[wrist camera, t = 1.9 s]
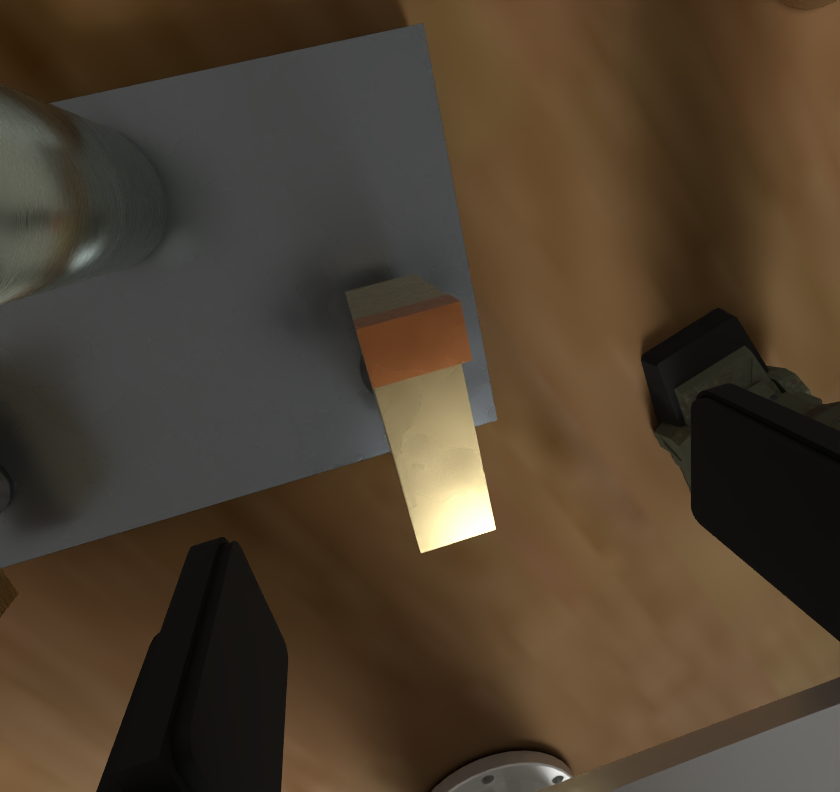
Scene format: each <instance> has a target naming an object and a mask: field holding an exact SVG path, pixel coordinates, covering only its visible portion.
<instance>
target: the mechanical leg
mask: <svg viewBox="0 0 840 792" xmlns="http://www.w3.org/2000/svg"><path fill="white" fill-rule="evenodd" d="M641 361H642V365H643V369H644V372H645V376H646V380H647V383H648V387H649V391H650V394H651V398H652V402H653V405H654V409H655V413H656V416H657V420H658V422H661V424H660V425H659V426H658V428H657V429H656V430H655V431H654V433H655V436H656V438H657V440H658V442H659V444H660V446H661V447H662V448H664V449H666V450H667V451H669V452H670V453H671V454H672V457H673V459H674V461H675V463H676V464H677V465H678V466H679V467H680V468H681V469H682V471H683V474H684V476H685V478H686V481H687V483H688V485H689V488H690V490H691V404H692V402H693V401H695V400H696V397H697V395H698V393H699V392H701V391H703V390H706V389H709V388H713V387H716V386H719V385H723V384H727V383H731V384H734V385H737V386H739V387H741V388H744V389H746V390H748V391H750V392H753V393H755V394H757V395H759V396H762V397H764V398H766V399H769V400H771V401H773V402H775V403H778V404H780V405H782V406H784V407H787V408H789V409H791V410H794V411H796V412H798V413H800V414H803V415H805V416H807V417H809V418H812V419H814V420H816V421H819V422H821V423H823V424H825V425H828V426H830V427H832V428H834V429H837V430H839V431H840V402H834V403H829V404H822V400H821V399H819V398H817V397H814V396H812V395H811V393H810V390H809V389H808V388H807V386H806V385H805V384H804V383H803V382H802V381H801V380H800V378H799V377H798V376H797V375H796V374H795V373H793V372H791V371H789V370H787V369H785V368H779V367H772V366H766V365H765V363H764V362H763V360H762V358H761V357H760V355H759V353H758V352H757V350H756V348H755V347H754V345H753V344H752V342H751V340H750V339H749V337H748V335H747V334H746V332H745V330H744V329H743V327H742V325H741V324H740V322H739V321H738V319H737V317H735V316H733V315H731V314H729V313H727V312H726V311H724V310H722V309H720V308H717V309H715V310H713V311H712V312H710V313H709V314H707V315H705V316H704V317H702V318H701V319H699V320H697V321H696V322H694V323H693V324H691V325H690V326H688V327H686V328H685V329H683V330H682V331H680V332H678V333H677V334H675V335H674V336H672V337H670V338H669V339H667V340H666V341H664V342H662V343H661V344H659V345H658V346H656V347H655V348H653V349H651V350H650V351H648V352H647V353H645V354H644V355H643V356H642V359H641Z"/></svg>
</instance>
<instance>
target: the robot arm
mask: <svg viewBox="0 0 840 792" xmlns="http://www.w3.org/2000/svg"><path fill="white" fill-rule="evenodd" d="M691 509H692V513H693V515H694V517H695V519H696V520H697V521H698V522H699V524H700V525H702V526H703V527H704V528H705V529H706V530H708V531H709V532H710V533H711V534H712V535H713V536H715V537H716V538H717V539H718V540H719V541H721V542H722V543H723V544H724V545H725V546H727V547H728V548H729V549H730V550H731V551H733V552H734V553H735V554H736V555H737V556H738V557H740V558H741V559H742V560H743V561H744V562H746V563H747V564H748V565H749V566H750V567H752V568H753V569H754V570H755V571H756V572H757V573H759V574H760V575H761V576H762V577H763V578H765V579H766V580H767V581H768V582H769V583H771V584H772V585H773V586H774V587H775V588H777V589H778V590H779V591H780V592H781V593H782V594H784V595H785V596H786V597H787V598H788V599H790V600H791V601H792V602H793V603H794V604H796V605H797V606H798V607H799V608H800V609H802V610H803V611H804V612H805V613H806V614H807V615H809V616H810V617H811V618H812V619H813V620H815V621H816V622H817V623H818V624H819V625H821V626H822V627H823V628H824V629H825V630H826V631H828V632H829V633H830V634H831V635H832V636H834V637H835V638H836V639H837V640H838V641H840V431H839V430H837V429H834V428H832V427H830V426H828V425H825V424H823V423H821V422H819V421H816V420H814V419H812V418H809V417H807V416H805V415H803V414H800V413H798V412H796V411H794V410H791V409H789V408H787V407H784V406H782V405H780V404H778V403H775V402H773V401H771V400H769V399H766V398H764V397H762V396H759V395H757V394H755V393H753V392H750V391H748V390H746V389H744V388H741V387H739V386H737V385H734V384H731V383H727V384H723V385H719V386H716V387H713V388H709V389H706V390H703V391H701V392H699V393H698V395H697V397H696V400H695V401H693V402H692V404H691ZM287 671H288V654H287V648H286V644H285V641H284V639H283V636H282V634H281V632H280V630H279V628H278V626H277V624H276V621H275V619H274V617H273V615H272V613H271V611H270V609H269V606H268V604H267V602H266V600H265V598H264V596H263V594H262V591H261V589H260V587H259V585H258V583H257V581H256V579H255V576H254V574H253V572H252V570H251V568H250V566H249V564H248V561H247V559H246V557H245V555H244V553H243V551H242V549H241V547H240V545H239V543H238V542H236V541H234V542H231V543H229V542H228V541H227V540H226V538H224V537H221V538H217V539H214V540H211V541H207V542H204V543H201V544H198V545H194V546H192V547H191V548H190V550H189V552H188V555H187V557H186V560H185V563H184V566H183V569H182V572H181V574H180V577H179V580H178V583H177V586H176V589H175V591H174V594H173V597H172V600H171V603H170V606H169V608H168V611H167V614H166V617H165V620H164V622H163V625H162V628H161V631H160V633H158V634H157V635H156V636H155V637H154V638H153V640H152V642H151V644H150V646H149V649H148V652H147V655H146V657H145V660H144V663H143V666H142V668H141V671H140V674H139V676H138V679H137V682H136V685H135V687H134V690H133V693H132V696H131V698H130V701H129V704H128V707H127V709H126V712H125V715H124V717H123V720H122V723H121V726H120V728H119V731H118V734H117V737H116V739H115V742H114V745H113V748H112V750H111V753H110V756H109V758H108V761H107V764H106V767H105V769H104V772H103V775H102V778H101V780H100V783H99V786H98V789H97V791H96V792H281V781H282V763H283V744H284V726H285V707H286V689H287ZM431 792H840V677H839V678H836V679H834V680H831V681H828V682H826V683H823V684H820V685H817V686H815V687H812V688H809V689H807V690H804V691H801V692H798V693H796V694H793V695H790V696H788V697H785V698H782V699H780V700H777V701H774V702H772V703H769V704H766V705H764V706H761V707H758V708H756V709H753V710H750V711H748V712H745V713H742V714H740V715H737V716H734V717H732V718H729V719H726V720H724V721H721V722H718V723H716V724H713V725H710V726H708V727H705V728H702V729H700V730H697V731H694V732H692V733H689V734H686V735H684V736H681V737H678V738H676V739H673V740H670V741H668V742H665V743H662V744H660V745H657V746H654V747H652V748H649V749H647V750H644V751H641V752H639V753H636V754H633V755H631V756H628V757H625V758H623V759H620V760H617V761H615V762H612V763H609V764H607V765H604V766H601V767H599V768H596V769H593V770H591V771H588V772H586V773H583V774H580V775H578V776H575V777H574V775H573V773H572V772H571V770H570V768H569V767H568V766H567V765H566V764H565V763H564V762H563V761H561V760H559V759H557V758H556V757H554V756H551V755H548V754H545V753H541V752H535V751H509V752H504V753H499V754H494V755H491V756H488V757H485V758H482V759H479V760H476V761H474V762H472V763H470V764H468V765H466V766H464V767H462V768H460V769H458V770H457V771H455V772H454V773H452V774H451V775H449V776H448V777H446V778H445V779H444V780H443V781H442V782H440V783H439V784H438V785H437V786H436V787H435V788H434V789H433V790H432V791H431Z"/></svg>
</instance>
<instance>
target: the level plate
mask: <svg viewBox="0 0 840 792" xmlns="http://www.w3.org/2000/svg"><path fill="white" fill-rule="evenodd" d="M411 274H416V275H417V276H419V277H420V278H422V279H423V280H425V281H427V282H428V283H430V284H431V285H433V286H435V287H436V288H438V289H439V290H441V291H442V292H444V293H446V294H450V295H451V296H453V297H455V298H456V299H458V300H459V301H461V306H462V311H463V316H464V321H465V326H466V331H467V336H468V341H469V346H470V351H471V356H472V361H469V362H465V363H462V369H463V373H464V378H465V383H466V388H467V393H468V398H469V402H470V407H471V412H472V417H473V422H474V427H476V426H479V425H482V424H486V423H489V422H492V421H496V420H497V417H496V411H495V406H494V400H493V395H492V390H491V384H490V379H489V374H488V368H487V363H486V357H485V352H484V347H483V341H482V336H481V331H480V325H479V320H478V314H477V309H476V304H475V298H474V293H473V288H472V282H471V277H470V271H469V266H468V261H467V255H466V250H465V245H464V239H463V234H462V228H461V223H460V218H459V212H458V207H457V202H456V196H455V191H454V185H453V180H452V175H451V169H450V164H449V159H448V153H447V148H446V142H445V137H444V132H443V126H442V121H441V116H440V110H439V105H438V100H437V94H436V89H435V83H434V78H433V73H432V67H431V62H430V57H429V51H428V46H427V40H426V35H425V30H424V24H423V23H421V24H417V25H412V26H407V27H403V28H398V29H393V30H389V31H384V32H379V33H375V34H370V35H365V36H361V37H356V38H351V39H347V40H342V41H337V42H333V43H328V44H323V45H319V46H314V47H309V48H305V49H300V50H295V51H291V52H286V53H281V54H277V55H272V56H267V57H263V58H258V59H253V60H249V61H244V62H239V63H235V64H230V65H225V66H221V67H216V68H211V69H207V70H202V71H197V72H193V73H188V74H183V75H179V76H174V77H169V78H165V79H160V80H155V81H151V82H146V83H141V84H137V85H132V86H127V87H123V88H118V89H113V90H109V91H104V92H99V93H95V94H90V95H85V96H81V97H76V98H71V99H67V100H62V101H57V102H53V103H47V102H45V101H42V100H40V99H37V98H35V97H32V96H30V95H27V94H25V93H22V92H20V91H18V90H15V89H13V88H10V87H8V86H5V85H3V84H0V568H3V567H6V566H10V565H13V564H17V563H20V562H23V561H27V560H30V559H33V558H37V557H40V556H43V555H47V554H50V553H53V552H57V551H60V550H63V549H67V548H70V547H73V546H77V545H80V544H84V543H87V542H90V541H94V540H97V539H100V538H104V537H107V536H110V535H114V534H117V533H120V532H124V531H127V530H130V529H134V528H137V527H140V526H144V525H147V524H151V523H154V522H157V521H161V520H164V519H167V518H171V517H174V516H177V515H181V514H184V513H187V512H191V511H194V510H197V509H201V508H204V507H208V506H211V505H214V504H218V503H221V502H224V501H228V500H231V499H234V498H238V497H241V496H244V495H248V494H251V493H254V492H258V491H261V490H264V489H268V488H271V487H275V486H278V485H281V484H285V483H288V482H291V481H295V480H298V479H301V478H305V477H308V476H311V475H315V474H318V473H321V472H325V471H328V470H331V469H335V468H338V467H342V466H345V465H348V464H352V463H355V462H358V461H362V460H365V459H368V458H372V457H375V456H378V455H382V454H385V453H388V452H390V449H389V445H388V442H387V438H386V435H385V431H384V428H383V424H382V420H381V417H380V413H379V410H378V406H377V403H376V399H375V396H374V392H373V389H372V385H371V382H370V378H369V375H368V371H367V368H366V364H365V361H364V357H363V354H362V350H361V347H360V343H359V340H358V336H357V333H356V329H355V326H354V322H353V319H352V315H351V312H350V308H349V305H348V301H347V298H346V294H345V292H346V291H350V290H354V289H358V288H362V287H365V286H369V285H373V284H377V283H381V282H384V281H388V280H392V279H396V278H399V277H403V276H407V275H411Z"/></svg>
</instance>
